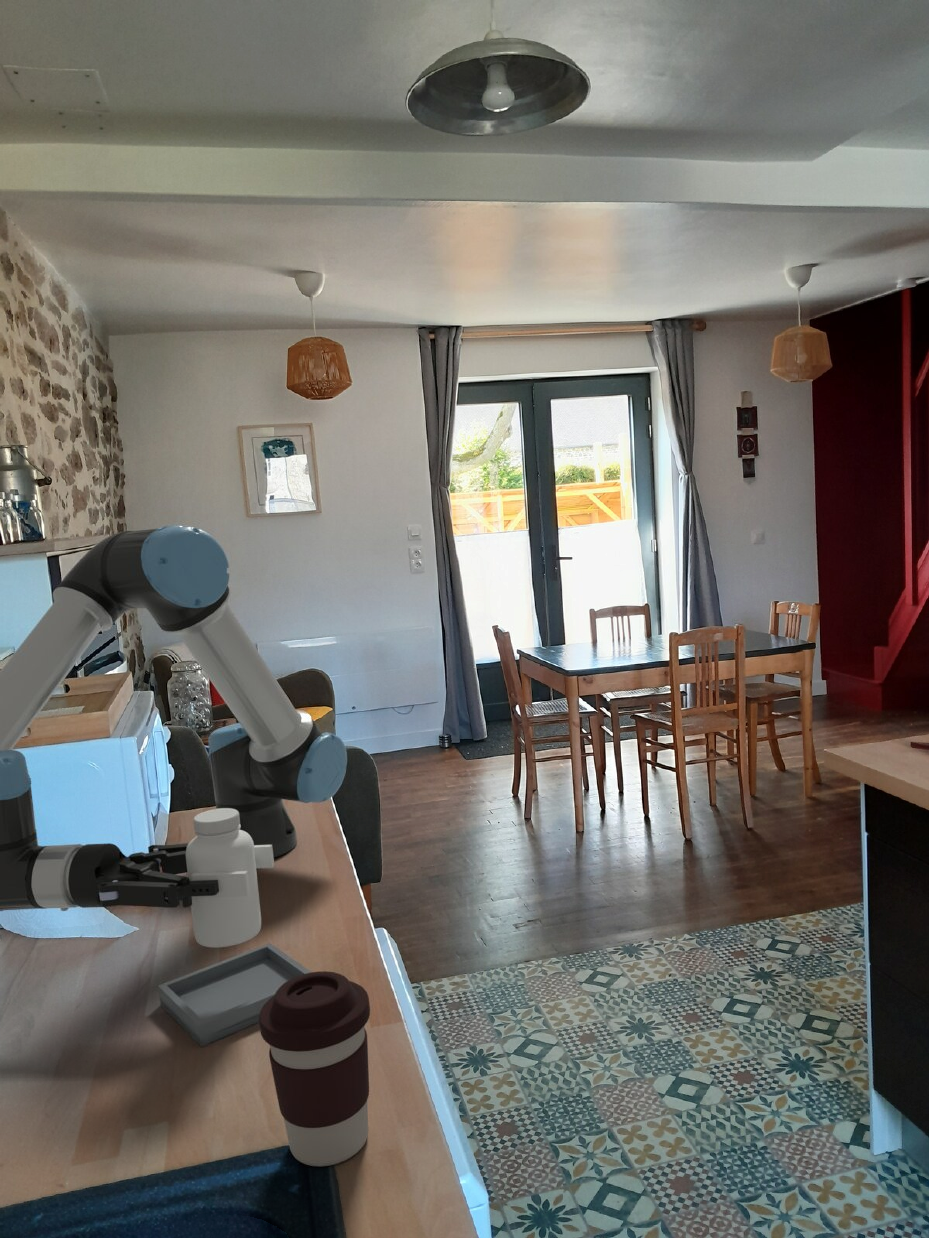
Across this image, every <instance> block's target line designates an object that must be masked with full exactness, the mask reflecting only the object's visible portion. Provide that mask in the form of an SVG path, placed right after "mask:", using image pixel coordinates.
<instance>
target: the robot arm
mask: <svg viewBox="0 0 929 1238" xmlns="http://www.w3.org/2000/svg"><path fill="white" fill-rule="evenodd" d="M229 567H230V564H229V561H228V557H227V555H226V552H225V550H224V549H223V547H222V545H221V544H220V543H219V542H218V540H217V539H216V538H215V537H213V536H212V535H211V534H209V532H206V531H204V530H202V529H200V528H197V527H192V526H182V525H166V526H161V527H159V528H152V529H151V528H150V529H139V530H128V531H120V532H116V533H114V534H111V535H109V536H108V537H106V538H104V539H102V540H100V541H99V542H98V543H96V545H94V546H93V547H92V548H91V549H89V550H88V551H87V553H85V554H84V555H83V556H82V557H81V558H80V559H79V561H77V563H76V564H75V565H74V566H73V567H72V568H71V569H70V571H68V573H66V575H65V576H64V577H63V578H62V580H61V581H60V583H59V584H58V585H57V586H56V588H55V589H54V590H53V591H52V597H53V601H54V602H53V603H52V604H51V606H50V608H48V609H47V611H46V612H45V613H44V614H43V616H42V617H41V618H40V620H39V621H38V623H37V624H36V625H35V627H33V629H32V630H31V631H30V633H29V634H28V635H27V637H26V638H24V640H23V641H22V643H21V644H20V645H19V647H18V648H17V649H16V650H15V652H14V653H13V655H11V656H10V658H9V659H8V661H7V662H6V663H5V665H4V666H3V667H2V668H1V670H0V912H3V911H17V910H37V909H41V910H42V909H43V910H44V909H45V910H46V909H60V911H61V912H67V911H68V910H69V908H70V909H72V908H74V909H75V908H79V907H80V908H89V909H90V908H108V907H115V906H128V907H129V906H130V907H147V908H149V907H152V908H168V909H169V908H171V909H175V908H177V907H179V906H180V902H181V901H182V902H181V903H182V907H183V908H188V907H191V905H192V896H194V898H209V897H240V896H249V894H250V888H249V879H248V871H236V872H211V873H193V874H192V875H191V877H192V881H190V880H189V877H188V876H187V875H180V874H185V873H186V874H188V872H187V863H186V848H187V846H188V844H189V842H187V843H179V844H178V843H176V844H151V845H149V846H148V847H147V849H148V851H147V853H146V852H143V851H141V852H134V853H131V854H129V855H128V856H126V855H125V854H124V853H123V852H122V850H121V849H120V848H119V847H118V845H115V844H113V843H112V842H111V843H110V842H109V843H90V844H89V843H87V844H81V843H79V844H78V843H77V844H57V845H56V844H55V845H39V842H38V833H37V828H36V820H35V810H34V801H33V794H32V793H33V792H32V779H31V777H30V774H29V770H28V765H27V761H26V757H25V755H24V754H23V753H22V752H21V751H18V750H15V749H14V747H15V746H16V745H17V743H18V742H19V741H20V739H21V738H22V737H23V735H24V734H25V733H26V731H27V729H28V728H29V727H30V726H31V724H32V723H33V722H34V720H35V719H36V718H37V716H38V715H39V714H40V713H41V711H42V710H43V708H44V707H45V706H46V704H47V703H48V702H49V700H50V699H51V698H52V696H53V695H54V693H56V691H57V689H58V688H59V687H60V685H61V684H62V682H64V681H65V678H67V676H68V675H69V673H70V672H71V671H72V669H73V668H74V666H75V665H76V663H77V662H78V661H79V660H80V658H81V657H82V655H84V653H85V652H86V651H87V649H88V647H89V646H90V645H91V644H92V642H93V641H94V639H95V638H96V637H97V636H98V634H99V632H104V631H105V632H106V631H109V630H110V629H112V627H113V626H114V624H115V623H116V622H117V620H118V619H119V618H120V617H121V616H123V615H124V614H125V613H127V612H129V611H131V610H133V609H146V610H147V611H148V612H149V614H150V616H152V618H153V619H154V621H155V622H156V624H157V625H158V626H159V628H160V629H161V630H162V631H163V632H164V633H167V634H173V635H174V634H175V635H178V637H180V639H181V641H182V642H183V643H184V645H185V647H186V648H187V650H188V651H189V652H190V654H191V656H193V658H194V659H195V661H196V662H197V663H198V665H199V667H200V668H201V669H202V671H203V672H204V673H205V675H206V676H207V678H208V680H209V681H210V682H211V684H212V685H213V687H214V688H215V690H216V691H217V693H218V694H219V696H220V697H221V698H222V700H223V701H224V702H225V705H226V706H227V707H228V708H229V710H230V711H231V713H232V714H233V716H234V717H235V719H236V720H237V721H238V722H237V723H233V724H229V725H226V726H222V727H220V728H217V729H215V730H213V731H212V732H211V733H210V734H209V736H208V741H207V742H208V753H207V754H208V757H209V764H210V765H209V767H210V773H211V779H212V786H213V788H212V789H213V794H214V801H215V807H216V808H215V809H219V808H231V809H235V810H237V811H238V812H239V818H240V825H241V828H240V829H239V830H242V831H245V832H247V833H248V834H249V835H250V836H251V838H252V840H253V843H254V852H255V862H256V869H273V868H274V867H275V860H274V859H275V858H278V857H280V856H283V855H284V854H287V853H288V852H290V851H291V850H293V849H294V848H295V847H296V845H297V844H298V837H297V830H296V828H295V826H294V823H293V822H292V819H291V818H290V815H289V813H288V810H287V809H286V806H285V803H284V801H283V800H287V801H292V802H299V803H304V804H310V803H312V804H313V803H314V804H315V803H317V804H319V803H325V802H327V801H328V800H330V799H331V798H332V797H334V796H335V794H336V793H337V792H338V791H339V789H340V788H341V785H342V784H343V782H344V778H345V776H346V772H347V765H348V753H347V749H346V746H345V743H344V741H343V740H342V739H341V738H340V737H339V736H338V735H336V734H333V733H331V732H323V731H321V730H320V729H319V727H318V726H317V723H316V722H315V720H313V718H312V716H311V715H310V714H309V713H308V712H307V711H305V710H303V709H301V710H300V709H296V708H295V707H294V705H293V703H292V702H291V701H290V699H289V697H288V696H287V694H286V692H285V691H284V689H283V688H282V686H281V685H280V684H279V682H278V680H277V679H276V677H275V676H274V674H273V672H272V671H271V670H270V667H269V666H268V665H267V663H266V662H265V660H264V659H263V657H262V655H261V654H260V652H259V651H258V649H257V647H256V646H255V645H254V643H253V641H252V640H251V639H250V637H249V635H248V633H247V632H246V631H245V629H244V628H243V626H242V625H241V623H240V621H239V620H238V618H237V617H236V616H235V614H234V611H233V610H232V609H231V607H230V606H229V604H228V601H229V600H230V595H231V589H230V587H229V586H228V585H229V581H230V573H229V572H228V569H229ZM160 868H161V869H160Z"/></svg>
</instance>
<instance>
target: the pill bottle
mask: <svg viewBox="0 0 929 1238" xmlns="http://www.w3.org/2000/svg"><path fill="white" fill-rule="evenodd" d="M192 823H193V830H194V835H195V837H194V838H192V839H191V840H190V841H189V842H188V843H189V844H188V846H187V848H186V863H187V877H189V880H190V881H192V877H191V875H192V874H193V873H211V872H236V871H248V879H249V888H250V894H249V896H240V897H209V898H194V896H192V905H191V906H190V908H191V909H190V911H191V918H192V927H193V934H194V938H195V941H196V942H197V944H198V945H200V946H203V947H206V948H226V947H233V946H236V945H239V944H242V943H245V942H248V941H250V940H251V939H253V938H255V937H256V936H257V935H258V934H259V933H260V931H261V928H262V914H261V905H260V903H261V902H260V895H259V894H260V893H259V885H258V873H257V872H258V871H257V868H256V862H255V852H254V843H253V840H252V838H251V836H250V835H249V834H248V833H247V832H245V831H242V830H239V829H240V828H241V825H240V818H239V812H238V811H237V810H235V809H231V808H219V809H216V808H214V809H208V810H205V811H202V812H200V813H198V814H196V815H195V816H194V818H193V820H192Z"/></svg>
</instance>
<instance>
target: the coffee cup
mask: <svg viewBox="0 0 929 1238" xmlns="http://www.w3.org/2000/svg"><path fill="white" fill-rule="evenodd" d="M369 997H370V996H369V994H368V992H367V991H366V990H365V988H364V987H363V986H362V985H360V984H358V983H356V982H354V981H352V980H349V979H348V978H347V977H346V976H345V975H343V974H341V973H338V972H334V971H327V970H324V971H311V973H307V974H303V975H300V976H297V977H294V978H292V979H291V980H289V981H287V982H285V983H284V984H283V985H282V986H281V987H279V989H278V990H277V991H276V993H275V995H274V996H273V997H271V998H270V999H269V1000H268V1001H267V1002H266V1003H265V1004H264V1005H263V1007H262V1009H261V1011H260V1014H259V1022H258V1023H259V1033H260V1035H261V1037H262V1039H263V1040H264V1041H265V1043H267V1045H269V1052H268V1055H269V1056H268V1057H269V1060H270V1066H271V1072H272V1076H273V1082H274V1087H275V1092H276V1096H277V1097H276V1098H277V1101H278V1107H279V1112H280V1114H281V1116H282V1117H283V1120H284V1124H285V1131H286V1136H287V1141H288V1146H289V1150H290V1152H291V1154H292V1155H293V1157H294V1158H295V1159H296V1160H297V1161H298V1162H300V1163H302V1164H304V1165H307V1166H311V1167H328V1166H333V1165H337V1164H340V1163H342V1162H345V1161H347V1160H349V1159H350V1158H352V1157H353V1156H355V1155H356V1154H358V1153H359V1151H360V1150H361V1149H362V1148H363V1147H364V1145H365V1144H366V1141H367V1139H368V1136H369V1114H368V1113H369V1111H368V1110H369V1109H368V1099H369V1095H370V1078H369V1076H370V1075H369V1074H370V1073H369V1048H368V1047H369V1046H368V1043H369V1042H368V1033H367V1030H366V1027H365V1026H366V1024H367V1023H368V1021H369V1019H370V1015H371V1006H370V1005H371V1004H370V998H369Z"/></svg>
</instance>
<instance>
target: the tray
mask: <svg viewBox="0 0 929 1238" xmlns="http://www.w3.org/2000/svg"><path fill="white" fill-rule="evenodd" d="M311 972H312V971H311V970H309V969H308V968H306V967H305V966H303V965H302V964H301V963H299V962H298V961H296V960H295V959H294V958H292V957H290V956H289V955H288V954H287V953H285V952H284V951H282V950H280V948H277V946H275V945H274V944H272V943H271V942H269V943H266V944H263V945H261V946H258V947H255V948H252V949H249V950H248V951H245V952H242V953H240V954H237V955H235V956H232V957H230V958H227V959H224V960H222V961H219V962H215V963H213V964H211V965H209V966H206V967H203V968H200V969H197V970H195V971H193V972H190V973H188V974H185V975H182V976H179V977H177V978H175V979H172V980H169V981H167V982H164V983H161V984H159V985H158V986H157V988H158V989H157V990H158V996H159V1002H160V1003H159V1005H160V1006H161V1007H162V1009H164V1010H165V1011H166V1012H167V1014H169V1015H170V1016H171V1017H172V1018H173V1020H175V1021H176V1022H177V1023H178V1024H179V1025H180V1027H182V1029H183V1030H184V1031H186V1033H187V1034H188V1035H189V1036H190V1037H191V1038H192V1039H193V1041H195V1042H196V1043H197V1044H198V1045H199V1047H201V1048H202V1047H206V1046H208V1045H210V1044H212V1043H214V1042H216V1041H219V1040H221V1039H223V1038H225V1037H228V1036H231V1035H232V1034H235V1033H238V1032H239V1031H241V1030H245V1029H246V1028H249V1027H251V1026H253V1025H255V1024H257V1023H259V1014H260V1011H261V1009H262V1007H263V1005H264V1004H265V1003H266V1002H267V1001H268V1000H269V999H270V998H271V997H273V996H274V995H275V993H276V991H277V990H278V989H279V987H281V986H282V985H283V984H284V983H285V982H287V981H289V980H291V979H292V978H294V977H297V976H300V975H303V974H307V973H311Z"/></svg>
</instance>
